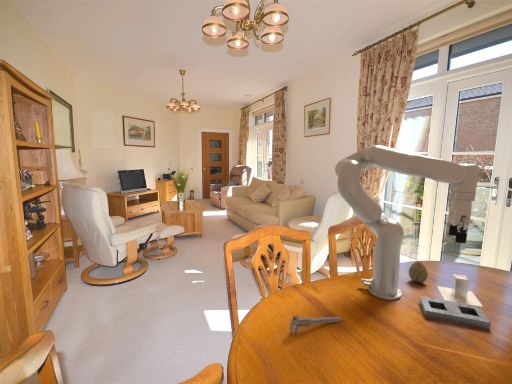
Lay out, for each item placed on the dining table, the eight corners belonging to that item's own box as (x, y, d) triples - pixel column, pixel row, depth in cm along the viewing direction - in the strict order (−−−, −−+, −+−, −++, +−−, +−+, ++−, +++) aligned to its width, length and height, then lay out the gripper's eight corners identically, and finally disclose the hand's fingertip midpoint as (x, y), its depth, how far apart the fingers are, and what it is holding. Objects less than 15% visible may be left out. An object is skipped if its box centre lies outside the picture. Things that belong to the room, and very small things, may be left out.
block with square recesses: (424, 318, 91) (425, 310, 91) (419, 303, 100) (420, 296, 100) (489, 331, 84) (491, 322, 84) (478, 314, 93) (479, 306, 93)
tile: (444, 301, 101) (444, 300, 101) (436, 287, 112) (437, 286, 112) (483, 308, 97) (483, 306, 97) (471, 292, 108) (471, 291, 107)
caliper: (291, 336, 83) (291, 318, 83) (289, 334, 84) (289, 316, 84) (343, 321, 91) (343, 304, 90) (340, 319, 92) (341, 302, 91)
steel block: (454, 297, 103) (456, 278, 102) (451, 292, 107) (453, 273, 106) (466, 299, 102) (468, 280, 101) (463, 294, 105) (465, 275, 104)
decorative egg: (430, 286, 113) (432, 264, 112) (414, 286, 113) (415, 264, 112) (420, 278, 120) (421, 257, 119) (404, 278, 120) (406, 258, 119)
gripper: (445, 192, 109) (440, 231, 112) (457, 198, 94) (450, 244, 96) (467, 194, 106) (461, 234, 109) (483, 200, 91) (476, 247, 93)
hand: (456, 238), depth 102 cm, fingers open, 9 cm apart
